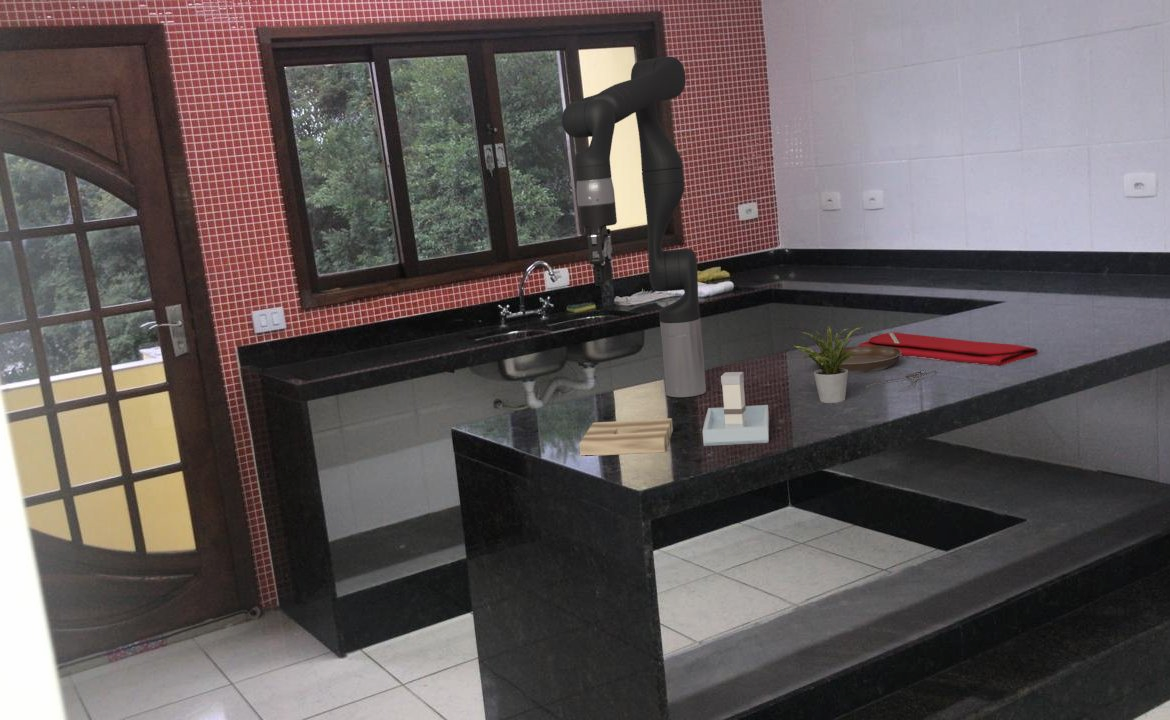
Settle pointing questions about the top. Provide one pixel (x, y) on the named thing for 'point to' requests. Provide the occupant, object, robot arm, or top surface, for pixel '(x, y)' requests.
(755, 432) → the parts tray
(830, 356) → the house plant
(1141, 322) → the top surface
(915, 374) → the pliers
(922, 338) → the dish drying mat
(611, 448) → the wooden board with hole
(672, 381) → the robot arm
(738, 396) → the block
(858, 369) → the plant saucer
